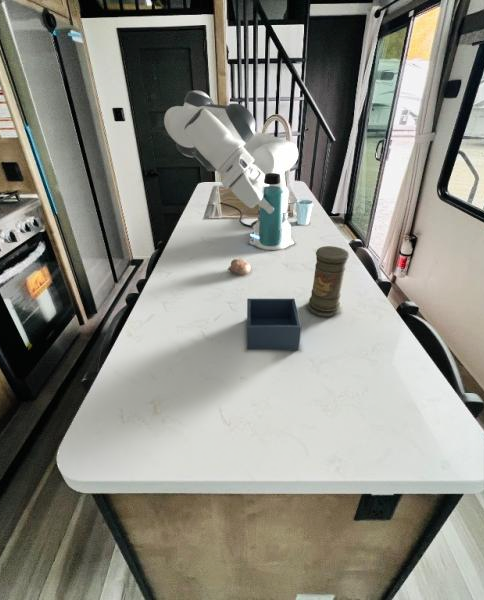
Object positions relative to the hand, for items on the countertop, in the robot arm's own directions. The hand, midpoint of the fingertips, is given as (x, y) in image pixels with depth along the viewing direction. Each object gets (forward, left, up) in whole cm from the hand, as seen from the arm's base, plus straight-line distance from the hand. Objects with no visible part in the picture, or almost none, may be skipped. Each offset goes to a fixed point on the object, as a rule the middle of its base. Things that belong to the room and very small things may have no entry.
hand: (274, 207), depth 86 cm
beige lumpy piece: (-15, -10, -28) cm, 33 cm away
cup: (-67, +20, -28) cm, 76 cm away
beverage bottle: (0, -1, -11) cm, 11 cm away
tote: (+20, -1, -27) cm, 34 cm away
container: (+8, +15, -28) cm, 32 cm away
